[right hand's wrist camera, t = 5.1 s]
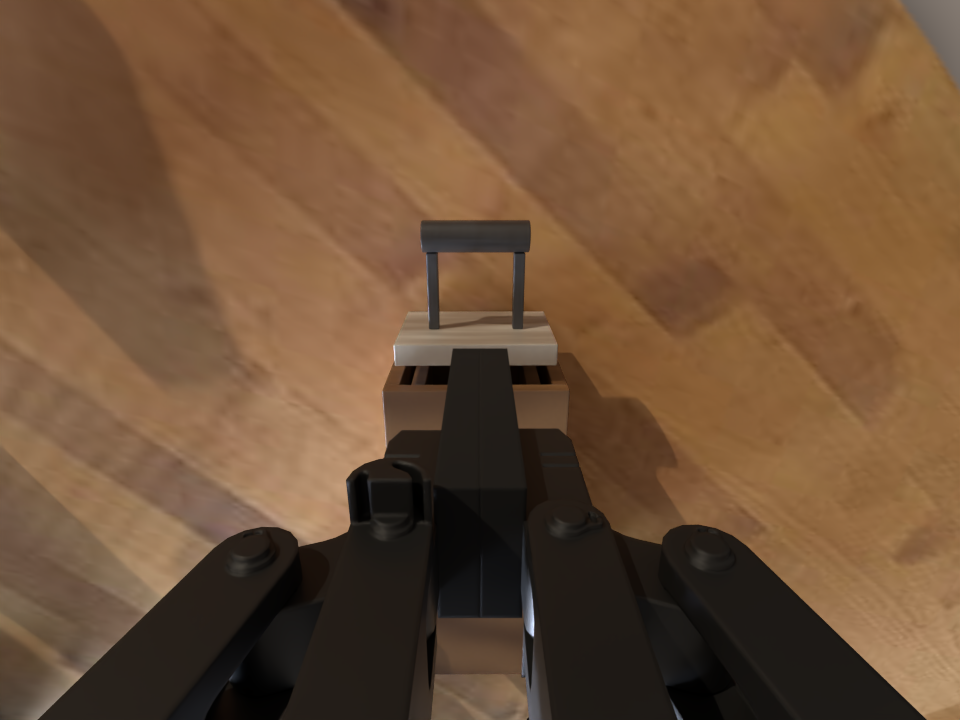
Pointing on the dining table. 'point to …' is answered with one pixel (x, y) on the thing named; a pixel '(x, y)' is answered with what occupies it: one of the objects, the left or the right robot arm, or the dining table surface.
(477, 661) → the cabinet
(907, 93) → the dining table surface
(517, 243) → the drawer
